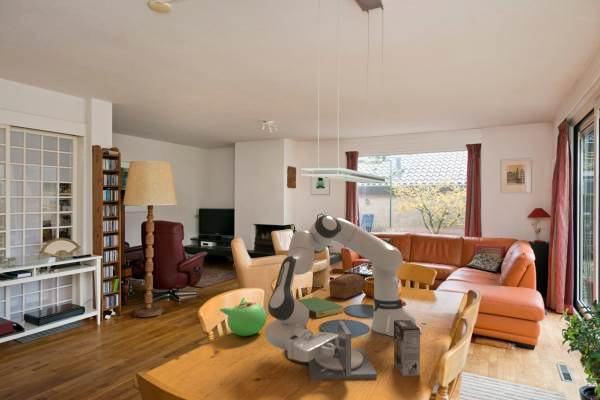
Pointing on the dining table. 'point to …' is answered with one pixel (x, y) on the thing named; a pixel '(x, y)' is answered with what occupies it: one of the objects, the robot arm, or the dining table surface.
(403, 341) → the coffee box
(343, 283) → the bread
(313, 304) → the hardcover book
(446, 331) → the dining table surface
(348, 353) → the dial
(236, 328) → the green teapot
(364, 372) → the dial board
